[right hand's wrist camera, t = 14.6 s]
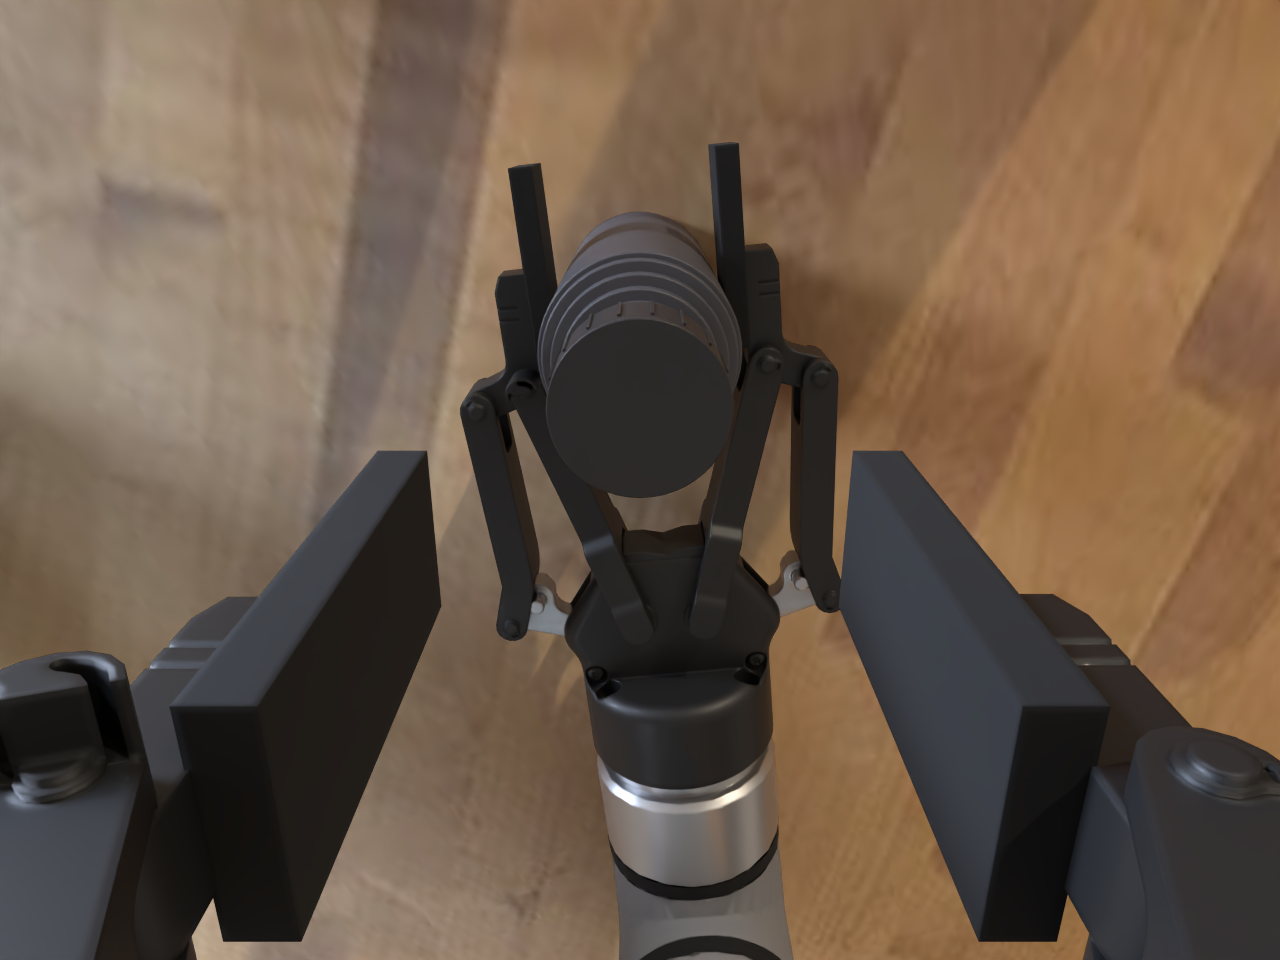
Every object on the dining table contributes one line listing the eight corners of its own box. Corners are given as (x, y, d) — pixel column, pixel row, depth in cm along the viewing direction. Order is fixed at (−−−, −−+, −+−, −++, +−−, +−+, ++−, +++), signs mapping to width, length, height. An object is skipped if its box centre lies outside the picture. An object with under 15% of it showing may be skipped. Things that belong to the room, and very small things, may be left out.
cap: (622, 261, 21) (620, 275, 19) (763, 372, 22) (775, 395, 20) (517, 402, 22) (505, 427, 20) (655, 500, 23) (657, 534, 21)
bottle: (626, 181, 35) (615, 224, 19) (738, 271, 37) (816, 384, 20) (542, 297, 37) (465, 428, 21) (652, 380, 38) (661, 563, 22)
